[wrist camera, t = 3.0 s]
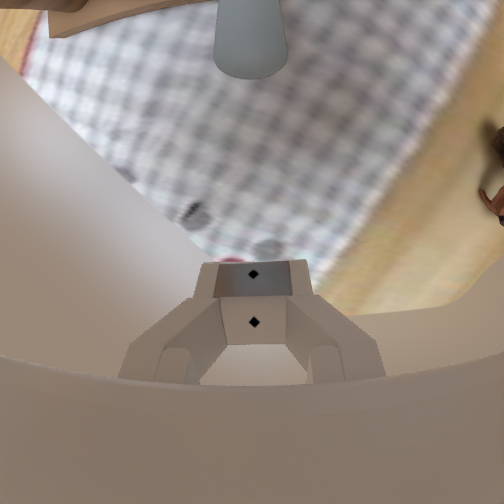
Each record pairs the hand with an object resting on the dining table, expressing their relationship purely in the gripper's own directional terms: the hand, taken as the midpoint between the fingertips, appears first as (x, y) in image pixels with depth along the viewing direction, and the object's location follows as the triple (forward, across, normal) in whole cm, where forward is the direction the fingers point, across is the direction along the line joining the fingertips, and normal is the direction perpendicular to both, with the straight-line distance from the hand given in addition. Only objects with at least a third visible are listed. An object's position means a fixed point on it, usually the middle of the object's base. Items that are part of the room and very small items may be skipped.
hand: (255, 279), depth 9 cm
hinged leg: (+15, 0, -15) cm, 21 cm away
